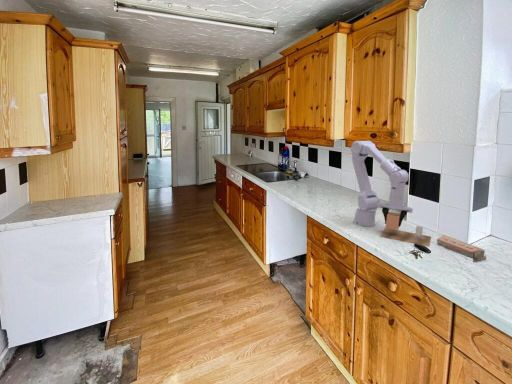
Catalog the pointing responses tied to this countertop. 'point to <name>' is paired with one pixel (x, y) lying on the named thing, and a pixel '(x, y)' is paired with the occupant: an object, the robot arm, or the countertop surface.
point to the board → (405, 237)
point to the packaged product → (462, 248)
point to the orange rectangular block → (393, 221)
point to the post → (418, 233)
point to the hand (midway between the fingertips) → (392, 224)
